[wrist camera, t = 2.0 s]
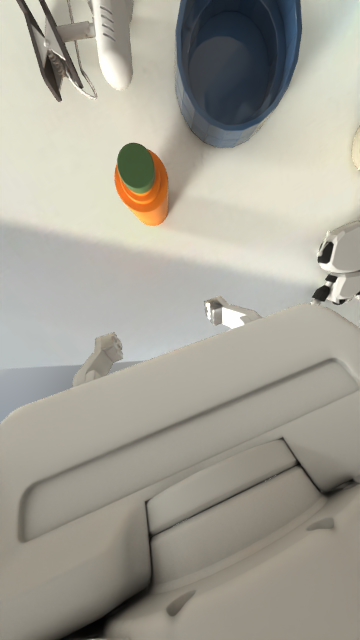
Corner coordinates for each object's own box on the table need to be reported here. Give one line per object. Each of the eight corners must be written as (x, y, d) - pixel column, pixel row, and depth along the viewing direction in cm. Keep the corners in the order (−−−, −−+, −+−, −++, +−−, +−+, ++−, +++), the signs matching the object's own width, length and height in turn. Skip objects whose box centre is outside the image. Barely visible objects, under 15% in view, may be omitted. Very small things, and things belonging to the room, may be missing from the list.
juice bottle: (131, 220, 29) (99, 193, 15) (137, 181, 27) (105, 110, 13) (164, 230, 30) (160, 212, 16) (171, 192, 28) (174, 137, 14)
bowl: (164, 129, 25) (163, 104, 20) (191, -29, 20) (197, -104, 15) (252, 164, 27) (267, 148, 23) (296, 29, 22) (326, -23, 18)
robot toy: (353, 295, 37) (378, 216, 31) (375, 302, 33) (411, 213, 26) (297, 304, 37) (311, 227, 31) (314, 312, 33) (333, 226, 26)
